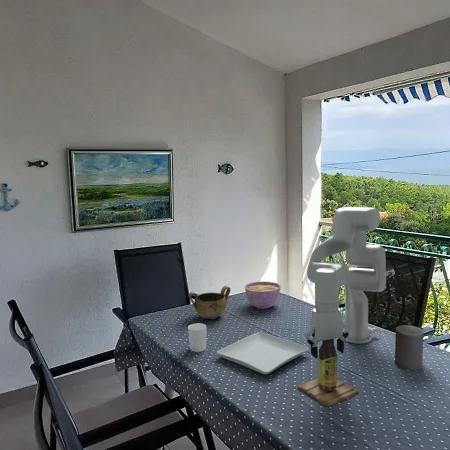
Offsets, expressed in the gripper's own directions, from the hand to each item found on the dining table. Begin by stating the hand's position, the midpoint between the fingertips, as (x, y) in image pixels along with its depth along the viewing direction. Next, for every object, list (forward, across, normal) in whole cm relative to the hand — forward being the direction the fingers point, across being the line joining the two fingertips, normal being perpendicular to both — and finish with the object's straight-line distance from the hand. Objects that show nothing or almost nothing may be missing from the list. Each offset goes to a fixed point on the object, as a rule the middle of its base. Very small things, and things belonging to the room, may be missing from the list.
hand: (327, 354), depth 140 cm
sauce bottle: (+12, 0, 0) cm, 12 cm away
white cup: (+13, +35, -48) cm, 61 cm away
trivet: (+13, +1, +1) cm, 13 cm away
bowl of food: (+15, -11, -89) cm, 91 cm away
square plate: (+14, +12, -31) cm, 36 cm away
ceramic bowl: (+14, +20, -84) cm, 88 cm away
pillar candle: (+14, -37, -5) cm, 40 cm away
